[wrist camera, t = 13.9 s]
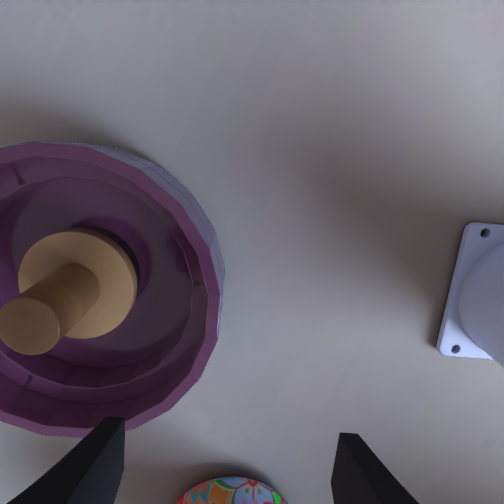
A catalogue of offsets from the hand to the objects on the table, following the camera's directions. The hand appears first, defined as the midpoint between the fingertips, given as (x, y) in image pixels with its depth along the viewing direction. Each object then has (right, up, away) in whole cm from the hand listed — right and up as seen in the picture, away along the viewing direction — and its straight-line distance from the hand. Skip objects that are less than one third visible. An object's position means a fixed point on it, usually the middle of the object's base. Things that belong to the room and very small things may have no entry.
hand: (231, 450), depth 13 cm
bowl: (-8, +5, +9) cm, 13 cm away
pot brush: (-8, +5, +9) cm, 13 cm away
